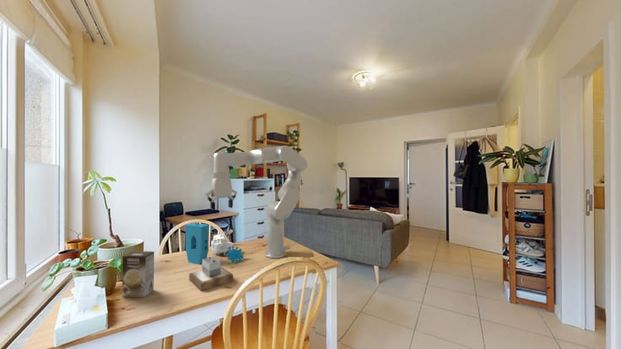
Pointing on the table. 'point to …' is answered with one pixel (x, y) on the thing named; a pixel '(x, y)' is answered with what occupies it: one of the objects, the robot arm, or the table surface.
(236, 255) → the gear
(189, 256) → the block
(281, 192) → the robot arm
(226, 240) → the mechanical part
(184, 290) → the table surface
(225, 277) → the stand
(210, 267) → the block
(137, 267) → the coffee box
